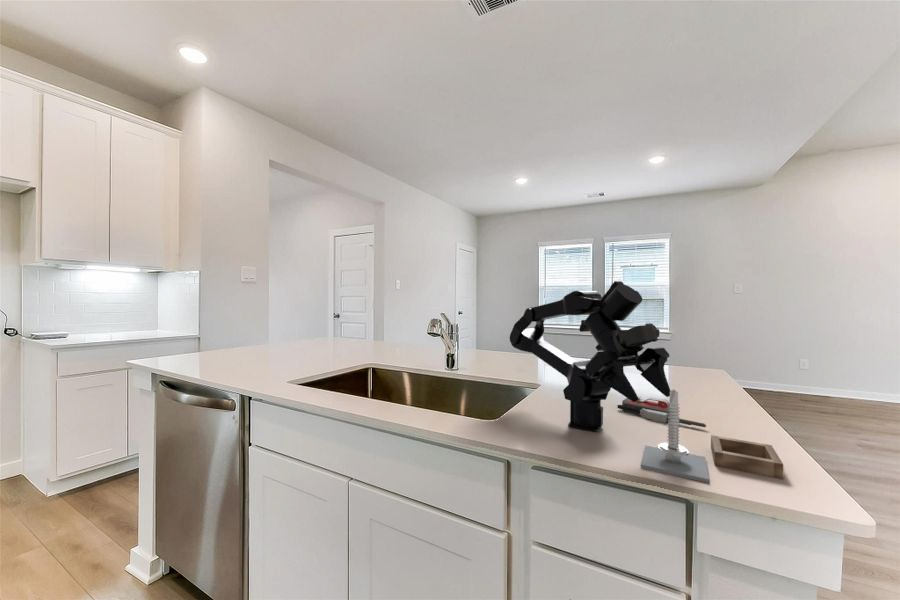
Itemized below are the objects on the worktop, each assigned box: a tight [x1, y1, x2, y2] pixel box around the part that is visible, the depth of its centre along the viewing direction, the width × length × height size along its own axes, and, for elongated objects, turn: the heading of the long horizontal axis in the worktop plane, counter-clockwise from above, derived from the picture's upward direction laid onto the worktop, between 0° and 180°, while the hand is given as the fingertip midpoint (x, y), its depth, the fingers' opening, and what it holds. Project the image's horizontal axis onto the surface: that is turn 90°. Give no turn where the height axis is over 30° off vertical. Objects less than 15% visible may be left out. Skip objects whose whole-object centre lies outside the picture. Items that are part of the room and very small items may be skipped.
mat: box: [640, 444, 710, 484], centre depth 68 cm, size 10×10×1 cm
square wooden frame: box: [710, 434, 784, 480], centre depth 69 cm, size 9×9×2 cm
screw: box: [657, 389, 690, 463], centre depth 68 cm, size 13×5×5 cm
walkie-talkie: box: [616, 395, 707, 428], centre depth 94 cm, size 9×4×20 cm
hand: (653, 398), depth 72 cm, fingers open, 9 cm apart
